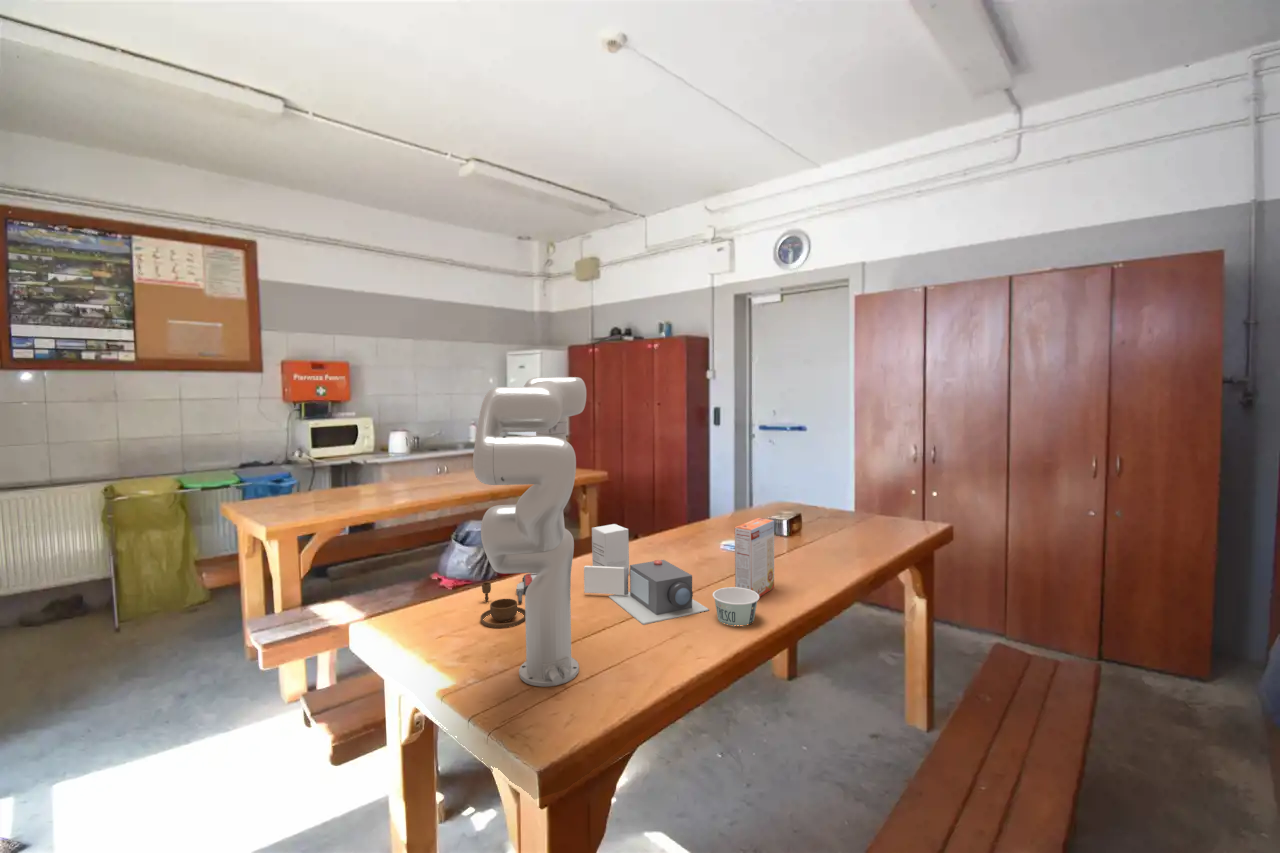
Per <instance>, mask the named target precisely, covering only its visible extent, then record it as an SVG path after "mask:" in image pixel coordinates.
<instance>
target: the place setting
mask: <svg viewBox="0 0 1280 853" xmlns="http://www.w3.org/2000/svg"><path fill="white" fill-rule="evenodd" d="M481 590H482V591H481V592H482V593H483V594H484V596H485V597H484V603H485V602H488V601H489V598H490V597H489V593H491V592H492V584H491V582H489V581H488V582H486V581H485V582H483V583H481ZM488 603H489V602H488ZM517 611H518V612H520V613H522V614H523V615H524V616H523V615H522V614H521V615H522V616H523V617H521V618H519V619H518V620H515V621H511V620H512V619H513V618H514V617H515V616H516V615H517V614H518V613H517ZM520 613H519V614H520ZM490 614H491V615H490ZM488 615H489V616H491V617H492V618H493V619H494V620H496V622H498V621H500V622H499V623H493V622H492V623H491V622H489V621H485V619H486V618H487V617H486V616H488ZM489 616H488V617H489ZM485 617H486V618H485ZM484 618H485V619H484ZM483 619H484V620H483ZM509 620H510V621H511V622H509ZM503 621H504V622H503ZM505 621H507V622H505ZM525 621H526V620H525V608H522V607H518V600H515V599H513V598H499V599H496V600H493V601H492V602H490V604H489V609H488V610H486V611H483V613H482V614H481V615H480V623H482V625H484V626H485V627H487V626H488V628H491V627H493V628H492V629H503V628H502V627H507V628H510V627H509V626H512V627H515V626H518V625H521V624H522V623H523V622H525ZM517 624H518V625H517ZM514 625H515V626H514Z"/></svg>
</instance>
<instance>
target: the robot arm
mask: <svg viewBox="0 0 1280 853" xmlns="http://www.w3.org/2000/svg"><path fill="white" fill-rule="evenodd" d="M586 402H587V387H586V383H585V381H584V380H583V379H582V378H581V377H578V376H577V377H576V376H574V377H573V376H550V377H549V376H547V377H546V376H541V377H540V376H539V377H532V378H529V379H528V380H527V381H526V382H525V384H524V385H523V386H497V387H493V388H490V389H489V390H488V391H487V392H486V393H485V396H484V398H483V400H482V404H481V407H480V411H479V416H478V422H477V429H476V436H475V442H474V448H473V454H472V455H473V456H472V469H473V473H474V475H475V478H476V479H477V480H478V481H479V482H481V483H482V484H484V485H488V486H511V485H512V486H513V485H514V486H516V485H517V486H518V485H526V486H527V485H530V487H528V488H527V489H526V491H524V493H522V495H521V496H520V498H518V500H517V502H516V503H515V504H498V505H494V506H490V507H489V508H488V509H486V512H484V514H483V516H482V520H481V527H480V537H481V539H480V540H481V543H482V547H483V550H484V551H483V552H485V555H486V557H487V560H488V562H489V564H490V566H491V568H492V570H493V571H494V572H496V573H498V574H529V573H536V574H537V576H536V577H535V578H534V579H533V580H532V582H531V583H530V584H529V586H528V588H527V590H526V594H525V595H524V607H525V608H524V609H525V620H524V621H525V655H526V656H525V657H526V658H525V661H524V662H523V663H522V664H521V665H520V666H519V669H518V674H519V675H518V676H519V678H520V680H521V681H523V683H525V684H527V685H531V686H534V687H543V688H544V687H555V686H556V687H557V686H560V685H563V684H566V683H568V682H570V681H572V680H573V679H574V678H576V676H577V675H578V674H579V672H580V665H579V662H578V661H577V660H576V659H575V658H574V657H572V620H571V618H572V615H571V614H572V612H571V611H572V610H571V600H572V599H571V581H572V579H571V578H572V577H571V576H572V565H573V558H574V551H575V550H574V549H575V542H574V536H573V534H572V533H571V531H569V529H567V528H566V527H565V518H564V517H565V515H564V509H565V507H566V506H567V504H568V502H569V500H570V498H571V495H572V493H573V489H574V485H575V481H576V473H577V472H576V471H577V458H576V452H575V450H574V447H573V446H572V444H570V442H568V441H567V437H566V436H567V435H568V417H572V416H577V415H579V414H582V413H583V411H584V409H585V407H586V404H587V403H586ZM501 433H535V435H507V436H505V435H501Z"/></svg>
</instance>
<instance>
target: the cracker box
mask: <svg viewBox="0 0 1280 853" xmlns="http://www.w3.org/2000/svg"><path fill="white" fill-rule="evenodd" d="M734 587H739V588H745V589H749V590H752V591H754V592H756V593H757V594H758V595H759V598H761V597H762V596H764V595H765V594H767V593H768V592H770V591H772V590H774V589H775V520H773V519H768V518H767V519H766V518H763V517H756V518H754V519H751V520H749V521H747V522H743V523H741V524H739V525H737V526H735V527H734Z"/></svg>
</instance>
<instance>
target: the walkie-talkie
mask: <svg viewBox="0 0 1280 853" xmlns="http://www.w3.org/2000/svg"><path fill="white" fill-rule="evenodd" d="M536 576H537V574H536V573H525V574H524V575H523V577H522V581H521V582H519V583H517V584H516V591H515V592H516V593H515V594H516V596H518V600H517V603H522V602H523V596H525V594H526V590H527V588H528V586H529V584H530V583H531V582H532V580H533V579H534V578H535V577H536ZM523 594H524V595H523Z"/></svg>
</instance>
